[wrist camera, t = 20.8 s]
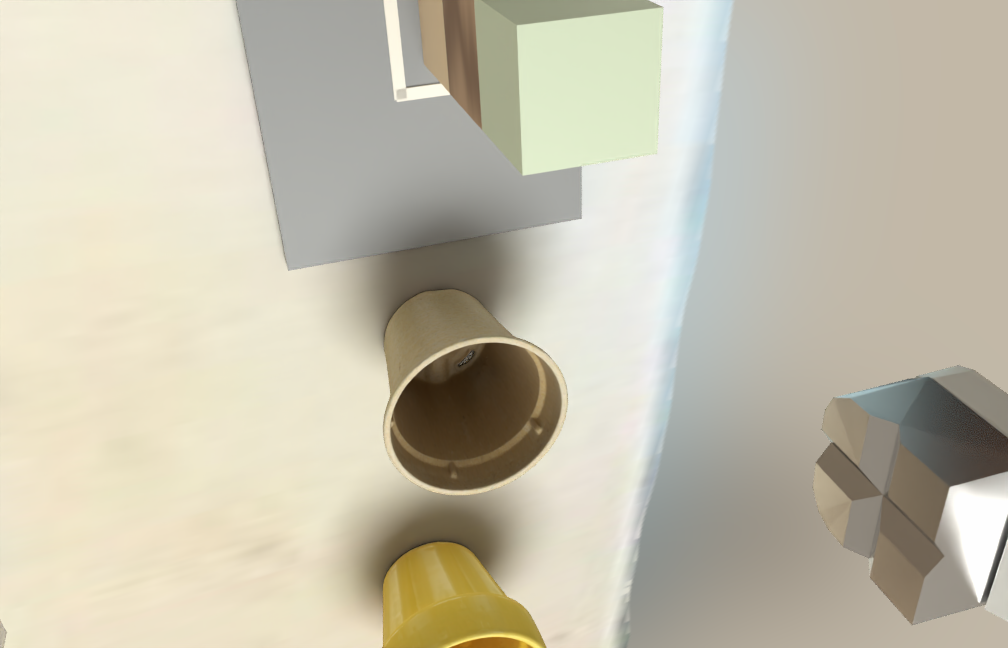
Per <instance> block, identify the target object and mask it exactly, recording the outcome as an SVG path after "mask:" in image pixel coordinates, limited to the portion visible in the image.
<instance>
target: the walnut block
mask: <svg viewBox="0 0 1008 648" xmlns="http://www.w3.org/2000/svg"><path fill="white" fill-rule="evenodd" d="M442 4H443V16H444V29H445V41H446V54H447V67H448V79H449V92H450V95H451V96H452V97H453V98H454V99H455V100H456V101H457V102H458V104H459V105H460V106H461V107H462V108H463V109H464V110H465V112H466V113H467V114H468V115H469V116H470V117H471V118H472V119H473V121H474V122H475V123H476V124H477V125H478V126H479V127H480V128H481V130H482V121H481V105H480V89H479V73H478V56H477V40H476V24H475V8H474V0H442Z"/></svg>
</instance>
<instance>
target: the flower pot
mask: <svg viewBox="0 0 1008 648" xmlns="http://www.w3.org/2000/svg"><path fill="white" fill-rule="evenodd" d="M384 351H385V356H386V362H387V370H388V378H389V386H390V399H389V401H388V404H387V407H386V411H385V415H384V422H383V435H384V442H385V447H386V450H387V453H388V455H389V458H390V460H391V462H392V463H393V465H394V466H395V467H396V468H397V469H398V471H399V472H400V473H401V474H402V475H403V476H404V477H406V478H407V479H408V480H409V481H411V482H412V483H414V484H416V485H417V486H419V487H422V488H424V489H426V490H429V491H431V492H435V493H439V494H446V495H471V494H477V493H483V492H486V491H490V490H493V489H496V488H500V487H502V486H504V485H506V484H508V483H510V482H512V481H513V480H516V479H517V478H519V477H521V476H522V475H524V474H525V473H526V472H527V471H528V470H530V469H531V468H532V467H534V466H535V465H536V464H537V463H538V462H539V461H540V460H541V459H542V457H543V456H544V455H545V454H546V453H547V452H548V451H549V449H550V448H551V447H552V445H553V444H554V442H555V440H556V439H557V437H558V435H559V433H560V431H561V428H562V426H563V423H564V420H565V417H566V412H567V405H568V393H567V387H566V383H565V380H564V377H563V375H562V373H561V371H560V369H559V367H558V366H557V365H556V363H555V362H554V361H553V360H552V358H551V357H550V356H549V355H548V354H547V353H546V352H544V351H543V350H542V349H541V348H539V347H537V346H536V345H534V344H532V343H530V342H528V341H526V340H523V339H520V338H516V337H514V336H513V335H512V334H511V333H510V332H509V331H508V330H506V329H505V328H504V327H503V326H502V325H501V324H500V323H499V322H498V321H497V320H496V319H495V318H494V317H493V316H492V315H491V314H490V313H489V312H488V311H487V310H486V309H485V308H484V307H483V306H482V305H481V303H480V302H479V301H478V300H476V299H475V298H474V297H472V296H471V295H469V294H467V293H464V292H462V291H459V290H455V289H448V290H438V291H425V292H422V293H420V294H418V295H416V296H414V297H413V298H411V299H409V300H408V301H406V302H405V303H404V304H403V305H402V306H401V307H400V308H399V309H398V310H397V311H396V312H395V314H394V315H393V316H392V318H391V320H390V321H389V323H388V326H387V328H386V332H385V339H384ZM471 351H474V352H475V353H474V355H473V357H472V358H471V360H469V361H468V363H466V364H465V365H462V366H458V364H460V363H461V362H462V361H463V360H464V359H465V358H466V357H467V356H468V355H469V354H470V352H471Z"/></svg>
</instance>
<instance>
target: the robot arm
mask: <svg viewBox="0 0 1008 648" xmlns="http://www.w3.org/2000/svg"><path fill="white" fill-rule="evenodd" d="M821 430H822V431H823V432H824V434H825V435H826V436H827V438H828V439H829V440H830V442H831V443H830V445H829V446H828V447H827V449H826V450H825V451H824V452H823V454H822V455H821V456H820V458H819V459H818V460H817V462H816V464H815V472H814V481H813V490H814V494H815V498H816V503H817V507H818V511H819V513H820V515H821V517H822V519H823V521H824V523H825V524H826V526H827V528H828V530H829V531H830V532H831V533H832V535H833V536H834V537H835V538H836V539H837V540H838V542H839V543H840V544H841V545H842V546H843V547H844V548H847V549H849V550H851V551H853V552H856V553H858V554H860V555H863V556H865V557H867V558H869V574H870V578H871V580H872V581H873V582H874V583H875V584H876V585H877V586H878V588H879V589H880V590H881V591H882V592H883V593H884V594H885V595H886V596H887V598H888V599H889V600H890V601H891V602H892V603H893V604H894V605H895V607H896V608H897V609H898V610H899V611H900V612H901V613H902V614H903V616H904V617H905V618H906V619H907V620H908V621H909V622H910V623H911V625H915V624H918V623H922V622H925V621H929V620H932V619H936V618H939V617H943V616H947V615H950V614H954V613H957V612H960V611H965V610H968V609H971V608H975V607H978V606H982V605H986V606H985V610H987V611H989V612H991V613H993V614H994V615H996V616H998V617H1000V618H1002V619H1004V620H1006V621H1007V622H1008V394H1007V393H1006V392H1004V391H1003V390H1001V389H1000V388H999V387H997V386H996V385H995V384H993V383H992V382H990V381H989V380H988V379H986V378H985V377H983V376H982V375H980V374H979V373H978V372H976V371H975V370H973V369H969V368H966V367H962V366H959V365H957V366H954V367H950V368H946V369H942V370H939V371H934V372H931V373H927V374H923V375H919V376H917V377H915V378H911V379H906V380H902V381H898V382H894V383H890V384H886V385H882V386H878V387H874V388H870V389H866V390H862V391H858V392H854V393H850V394H846V395H842V396H838V397H834V398H833V399H832V400H831V402H830V403H829V405H828V406H827V408H826V409H825V413H824V418H823V423H822V429H821ZM6 633H7V632H6V630H5V628H4V627H3V625H2V623H1V621H0V648H4V643H5V638H6Z"/></svg>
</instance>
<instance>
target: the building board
mask: <svg viewBox="0 0 1008 648" xmlns="http://www.w3.org/2000/svg"><path fill="white" fill-rule="evenodd" d="M236 4H237V9H238V14H239V19H240V24H241V29H242V35H243V40H244V45H245V50H246V55H247V61H248V66H249V71H250V76H251V81H252V86H253V92H254V97H255V102H256V107H257V112H258V117H259V123H260V128H261V133H262V138H263V143H264V149H265V154H266V159H267V164H268V169H269V174H270V180H271V185H272V190H273V195H274V200H275V205H276V211H277V216H278V221H279V226H280V231H281V237H282V242H283V247H284V252H285V257H286V262H287V267H288V271H289V270H295V269H301V268H306V267H312V266H318V265H323V264H329V263H334V262H340V261H346V260H351V259H357V258H363V257H368V256H374V255H379V254H385V253H391V252H396V251H402V250H408V249H413V248H419V247H424V246H430V245H436V244H441V243H447V242H453V241H458V240H464V239H469V238H475V237H481V236H486V235H492V234H498V233H503V232H509V231H514V230H520V229H526V228H531V227H537V226H543V225H548V224H554V223H559V222H565V221H571V220H576V219H582V211H581V166H579V167H573V168H567V169H561V170H555V171H549V172H543V173H536V174H530V175H524V176H522V174H521V173H520V172H519V171H518V170H517V169H516V168H515V167H514V165H513V164H512V163H511V162H510V161H509V160H508V159H507V158H506V156H505V155H504V154H503V153H502V152H501V151H500V150H499V149H498V147H497V146H496V145H495V144H494V143H493V142H492V141H491V140H490V138H489V137H488V136H487V135H486V134H485V133H484V132H483V131H482V130H481V128H480V127H479V126H478V125H477V124H476V123H475V122H474V121H473V119H472V118H471V117H470V116H469V115H468V114H467V113H466V112H465V110H464V109H463V108H462V107H461V106H460V105H459V104H458V102H457V101H456V100H455V99H454V98H453V97H452V96H451V95H450V92H449V79H448V67H447V54H446V41H445V29H444V16H443V4H442V0H236Z"/></svg>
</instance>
